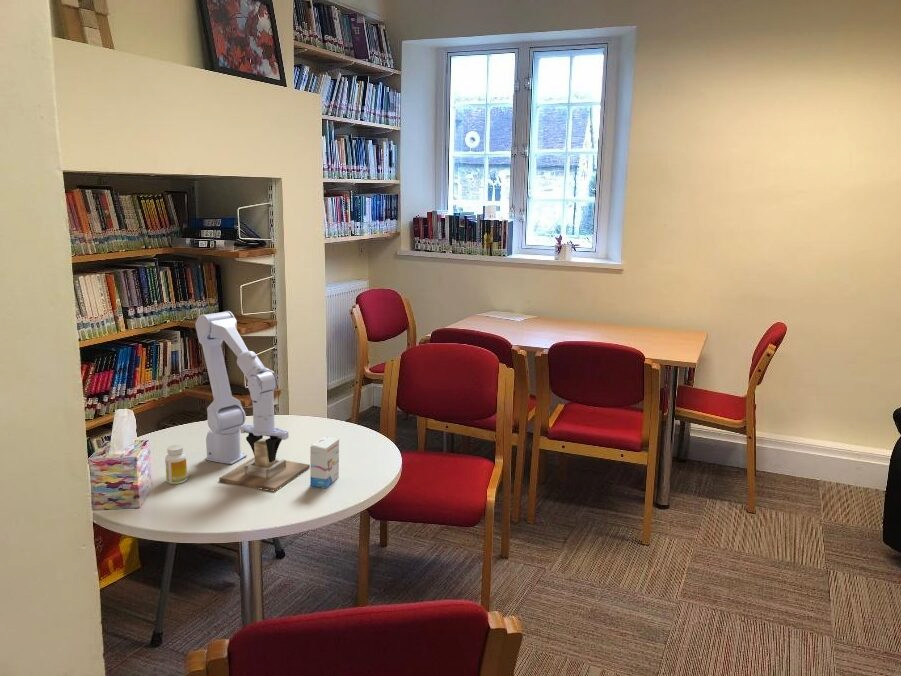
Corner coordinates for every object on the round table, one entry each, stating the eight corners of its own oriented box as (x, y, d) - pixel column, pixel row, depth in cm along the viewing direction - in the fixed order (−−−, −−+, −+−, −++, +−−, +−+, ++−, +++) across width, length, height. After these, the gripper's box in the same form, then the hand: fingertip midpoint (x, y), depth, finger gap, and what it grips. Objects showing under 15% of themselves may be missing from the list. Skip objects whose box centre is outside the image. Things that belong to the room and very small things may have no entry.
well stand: (219, 481, 204) (218, 469, 203) (257, 458, 221) (256, 447, 220) (275, 491, 198) (274, 479, 197) (309, 467, 215) (309, 456, 214)
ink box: (326, 489, 201) (325, 447, 198) (309, 486, 202) (308, 445, 199) (339, 477, 209) (339, 437, 206) (323, 474, 210) (323, 435, 207)
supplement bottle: (191, 478, 206) (189, 445, 203) (178, 485, 201) (176, 452, 198) (175, 475, 207) (173, 442, 205) (162, 482, 202) (160, 449, 200)
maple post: (255, 469, 208) (254, 442, 206) (263, 464, 211) (262, 438, 210) (267, 471, 206) (266, 444, 205) (275, 466, 210) (274, 440, 208)
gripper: (233, 414, 204) (235, 460, 207) (278, 421, 199) (279, 468, 202) (248, 407, 211) (249, 452, 214) (292, 414, 206) (293, 459, 209)
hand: (265, 459), depth 208 cm, fingers closed on maple post, 4 cm apart
